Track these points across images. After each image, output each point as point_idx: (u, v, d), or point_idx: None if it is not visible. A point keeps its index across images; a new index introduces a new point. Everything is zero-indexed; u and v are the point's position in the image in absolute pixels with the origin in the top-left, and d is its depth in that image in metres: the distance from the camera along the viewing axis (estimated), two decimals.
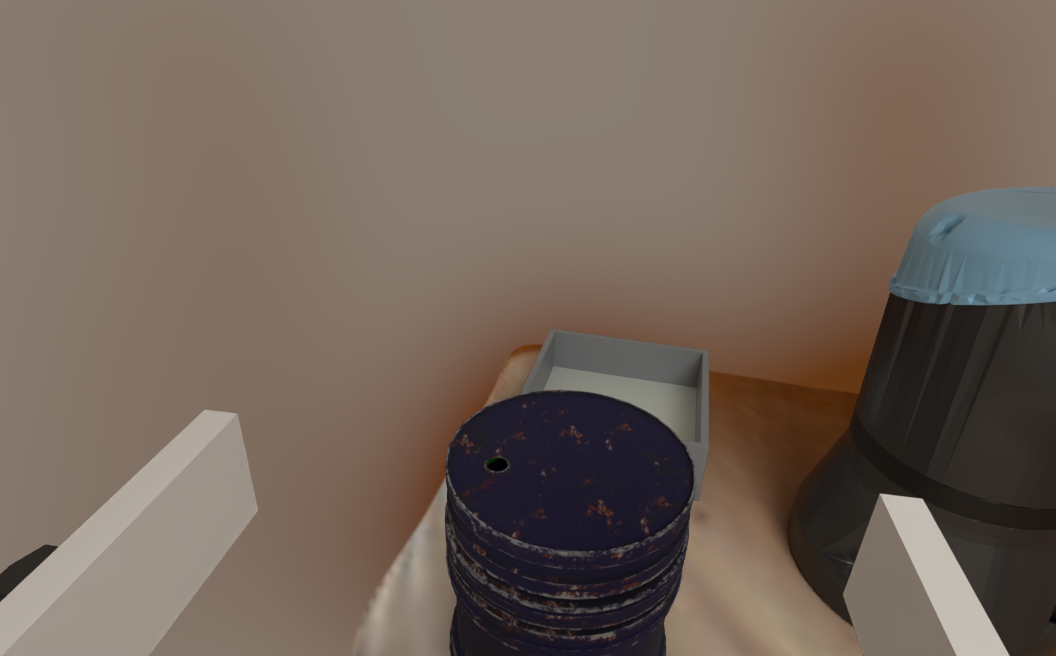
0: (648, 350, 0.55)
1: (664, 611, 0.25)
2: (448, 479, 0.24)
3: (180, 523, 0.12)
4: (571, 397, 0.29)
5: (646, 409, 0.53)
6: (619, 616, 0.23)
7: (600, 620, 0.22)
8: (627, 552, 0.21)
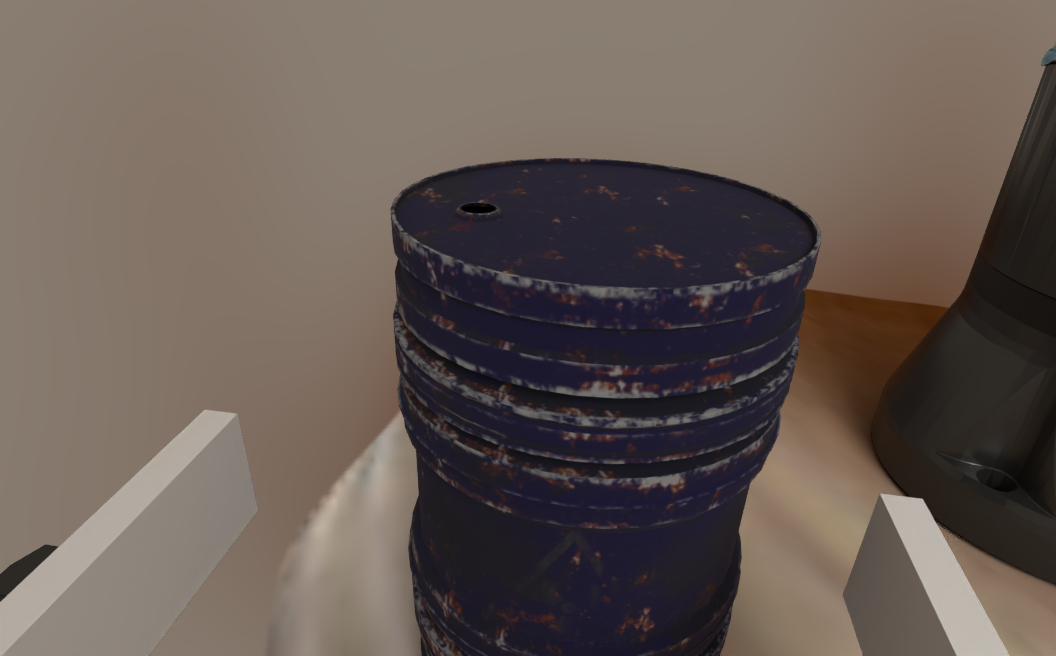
0: None
1: (761, 457, 0.14)
2: (393, 219, 0.14)
3: (180, 523, 0.12)
4: (597, 166, 0.19)
5: None
6: (695, 440, 0.12)
7: (660, 445, 0.12)
8: (718, 299, 0.11)
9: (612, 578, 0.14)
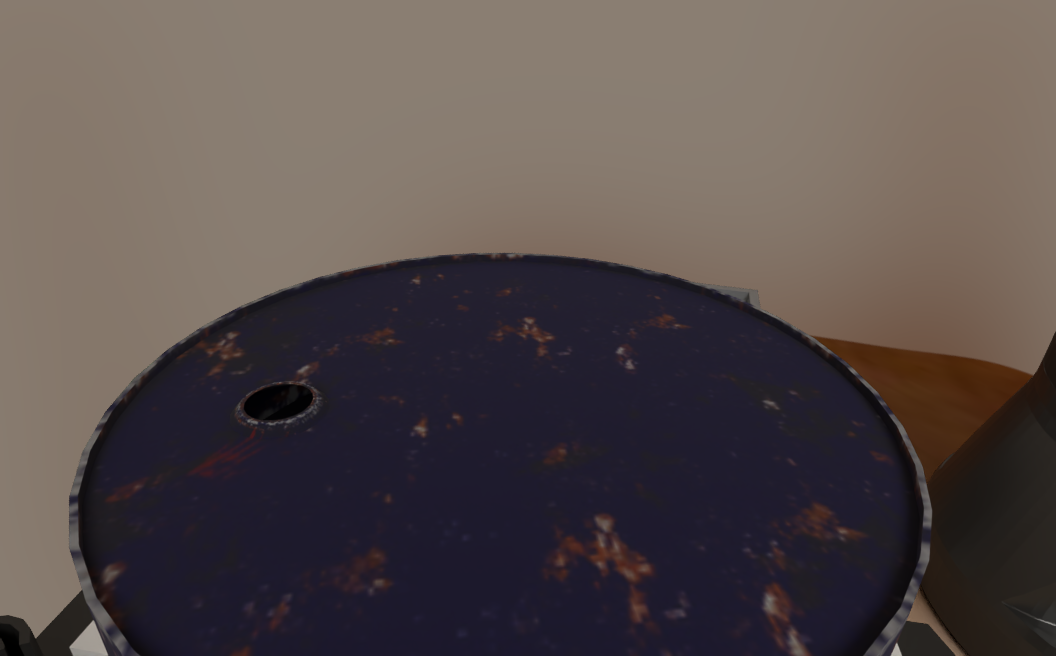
0: None
1: None
2: (92, 444, 0.07)
3: None
4: (533, 267, 0.12)
5: None
6: None
7: None
8: None
9: None
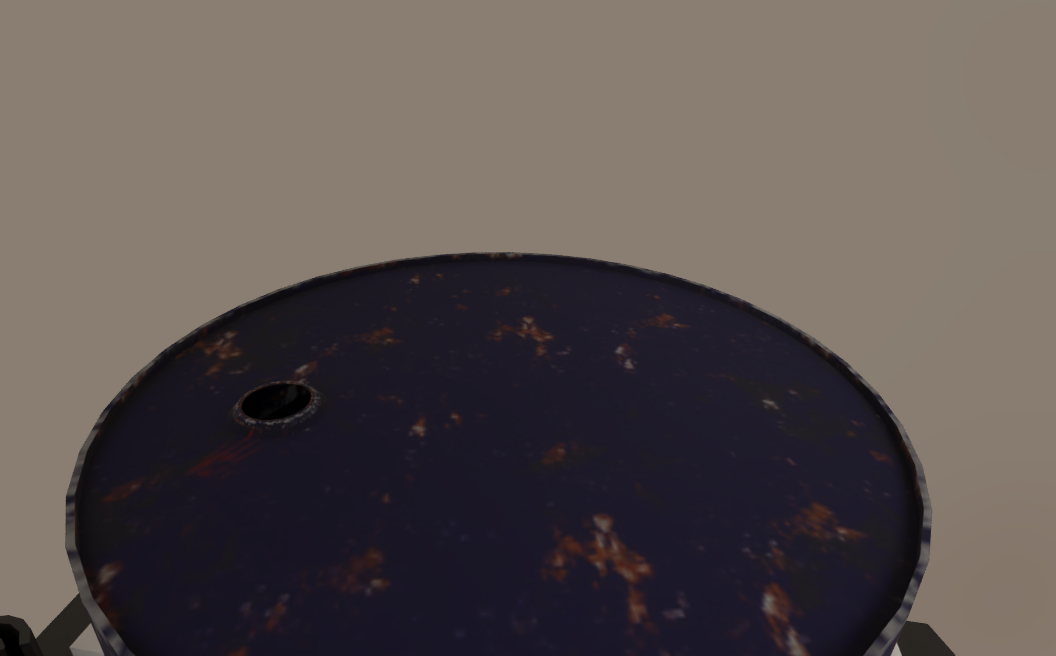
0: None
1: None
2: (89, 444, 0.07)
3: None
4: (532, 267, 0.12)
5: None
6: None
7: None
8: None
9: None
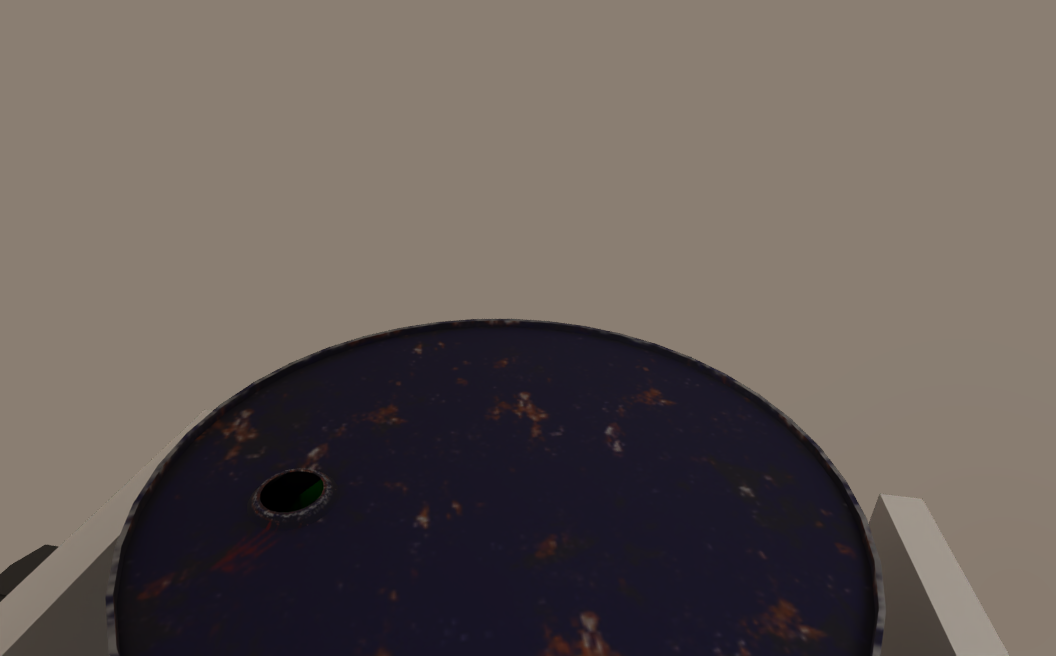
0: None
1: None
2: (122, 539, 0.08)
3: None
4: (529, 334, 0.13)
5: None
6: None
7: None
8: None
9: None
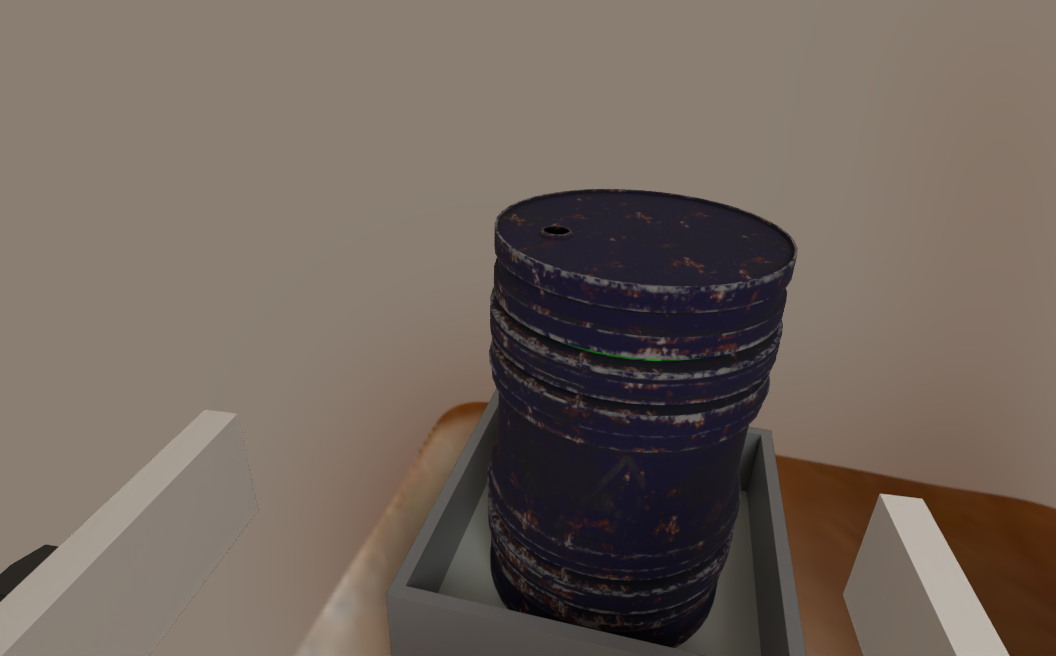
0: None
1: (756, 406, 0.20)
2: (500, 238, 0.20)
3: (180, 523, 0.12)
4: (631, 195, 0.25)
5: None
6: (712, 389, 0.19)
7: (689, 392, 0.18)
8: (729, 293, 0.17)
9: (651, 491, 0.20)
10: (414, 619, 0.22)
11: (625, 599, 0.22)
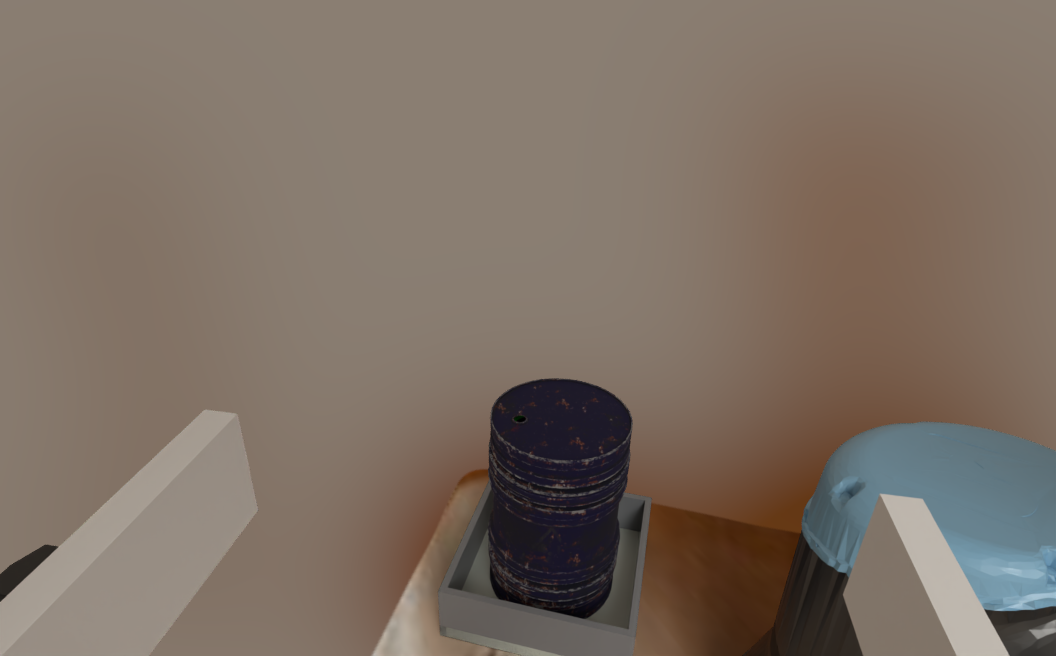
0: None
1: (614, 503, 0.43)
2: (492, 426, 0.43)
3: (180, 523, 0.12)
4: (563, 383, 0.48)
5: None
6: (587, 500, 0.41)
7: (576, 501, 0.41)
8: (590, 462, 0.40)
9: (564, 543, 0.43)
10: (451, 603, 0.45)
11: (555, 594, 0.45)
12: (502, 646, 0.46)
